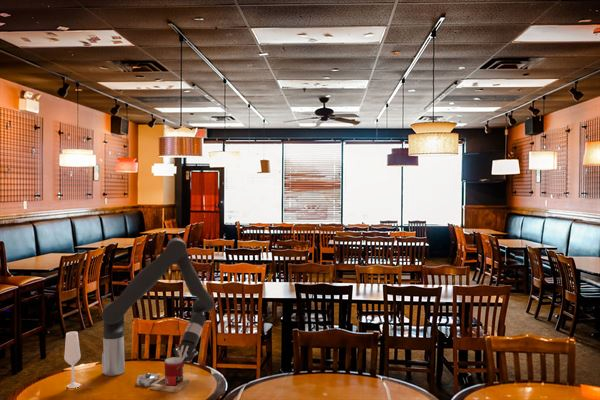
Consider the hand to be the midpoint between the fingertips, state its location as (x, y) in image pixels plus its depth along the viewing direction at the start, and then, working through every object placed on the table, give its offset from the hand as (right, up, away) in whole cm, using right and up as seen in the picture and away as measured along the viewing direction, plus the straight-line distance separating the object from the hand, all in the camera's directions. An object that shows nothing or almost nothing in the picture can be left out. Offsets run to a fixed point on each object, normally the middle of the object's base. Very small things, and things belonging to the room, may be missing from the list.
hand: (178, 369), depth 244 cm
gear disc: (-13, -6, -2) cm, 15 cm away
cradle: (-2, -6, -6) cm, 9 cm away
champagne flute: (-46, -6, -5) cm, 46 cm away
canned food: (-1, -6, -4) cm, 7 cm away
